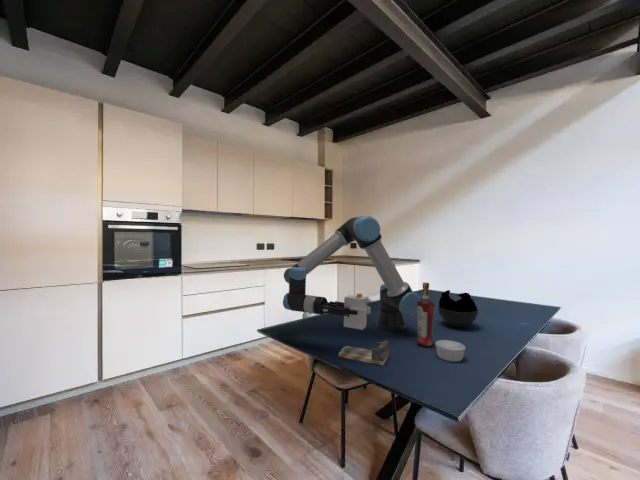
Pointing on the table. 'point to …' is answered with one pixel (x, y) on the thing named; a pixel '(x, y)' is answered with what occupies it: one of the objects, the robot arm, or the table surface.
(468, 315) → the coal bowl
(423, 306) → the liquor
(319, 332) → the table surface
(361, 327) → the module
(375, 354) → the rail board
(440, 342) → the ramekin
